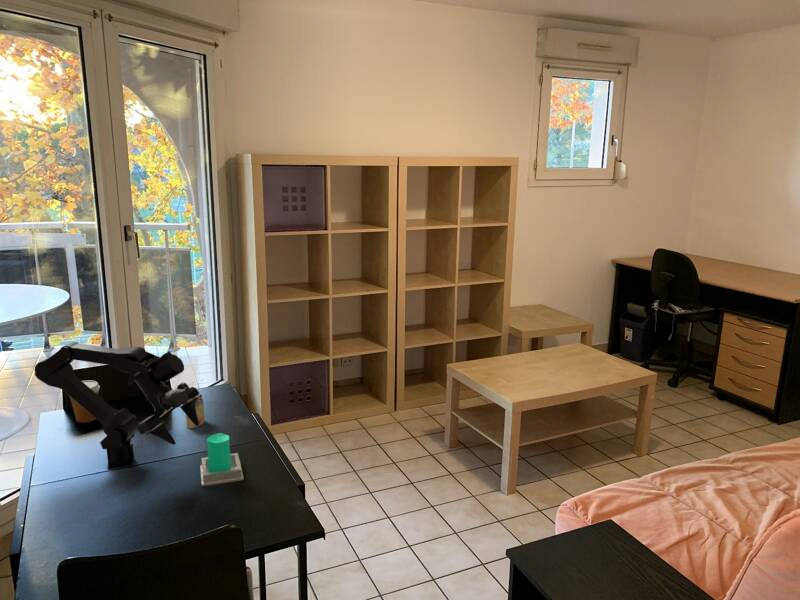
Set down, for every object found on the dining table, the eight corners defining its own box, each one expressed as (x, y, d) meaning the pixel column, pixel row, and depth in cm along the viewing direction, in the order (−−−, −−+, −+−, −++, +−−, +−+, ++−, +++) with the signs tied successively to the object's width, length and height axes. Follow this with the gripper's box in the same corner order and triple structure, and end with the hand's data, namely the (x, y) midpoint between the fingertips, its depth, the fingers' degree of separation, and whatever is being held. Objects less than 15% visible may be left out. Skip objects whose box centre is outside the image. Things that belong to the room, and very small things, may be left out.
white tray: (201, 486, 163) (200, 471, 162) (199, 457, 179) (198, 443, 178) (243, 480, 167) (243, 465, 166) (237, 451, 182) (237, 438, 181)
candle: (220, 480, 166) (217, 439, 163) (204, 474, 169) (201, 434, 166) (235, 470, 171) (233, 431, 168) (220, 464, 174) (217, 426, 171)
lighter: (192, 429, 196) (190, 400, 194) (183, 427, 198) (181, 398, 195) (207, 421, 203) (205, 393, 200) (198, 419, 204) (196, 391, 202)
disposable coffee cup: (94, 425, 198) (90, 390, 195) (64, 424, 198) (60, 390, 195) (108, 413, 207) (104, 380, 204) (80, 412, 207) (76, 379, 204)
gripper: (143, 399, 156) (177, 448, 158) (194, 363, 171) (225, 408, 173) (122, 410, 162) (155, 457, 164) (173, 375, 177) (203, 418, 180)
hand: (186, 434), depth 170 cm, fingers open, 9 cm apart
